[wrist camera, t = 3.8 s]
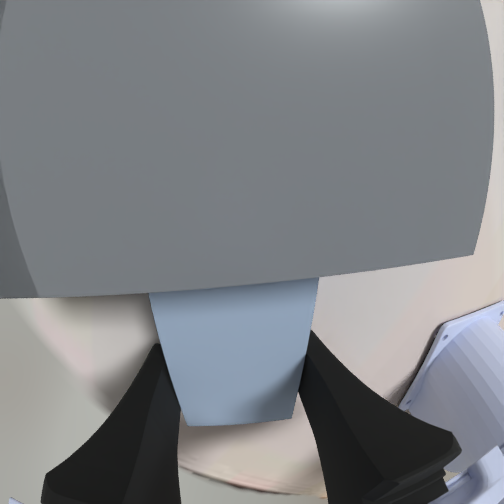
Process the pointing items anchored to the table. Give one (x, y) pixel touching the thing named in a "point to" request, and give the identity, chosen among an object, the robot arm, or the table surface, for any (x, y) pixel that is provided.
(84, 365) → the table surface
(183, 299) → the pale blue rectangular block
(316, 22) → the gray block
